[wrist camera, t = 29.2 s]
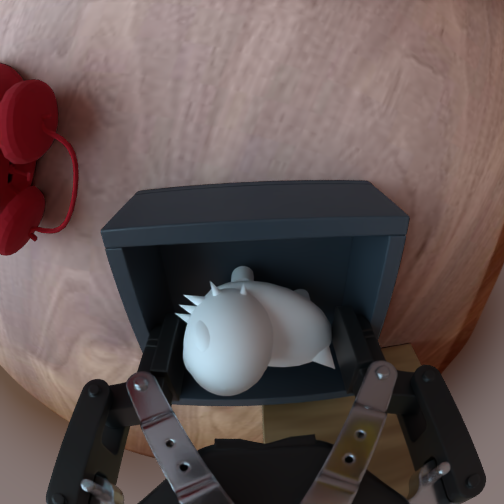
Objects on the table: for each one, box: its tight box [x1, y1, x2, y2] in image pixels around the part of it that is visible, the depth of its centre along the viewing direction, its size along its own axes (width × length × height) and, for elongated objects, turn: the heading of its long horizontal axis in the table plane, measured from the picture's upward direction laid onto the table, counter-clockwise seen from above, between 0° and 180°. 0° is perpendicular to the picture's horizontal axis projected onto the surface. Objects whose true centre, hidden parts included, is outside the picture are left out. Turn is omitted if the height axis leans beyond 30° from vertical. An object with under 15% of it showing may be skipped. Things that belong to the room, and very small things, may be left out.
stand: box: [262, 343, 421, 498], centre depth 17 cm, size 12×12×14 cm
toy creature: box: [175, 266, 335, 396], centre depth 13 cm, size 5×8×6 cm, turn 64°
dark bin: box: [101, 180, 410, 406], centre depth 15 cm, size 12×12×5 cm
